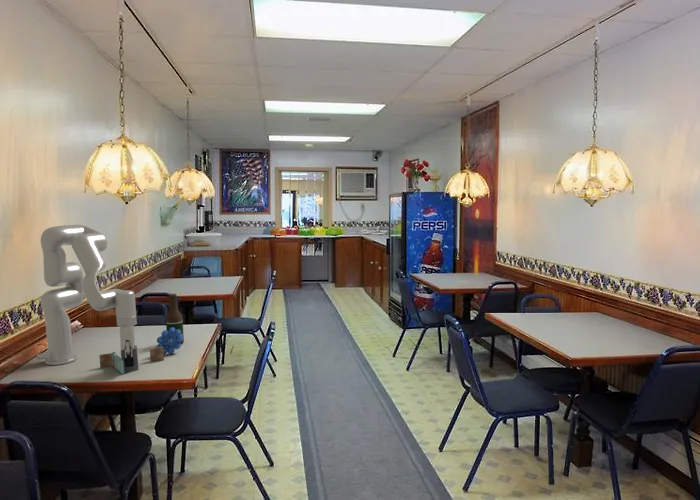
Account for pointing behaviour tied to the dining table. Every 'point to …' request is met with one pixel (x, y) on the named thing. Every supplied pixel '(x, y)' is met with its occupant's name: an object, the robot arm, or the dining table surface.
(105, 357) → the brown wooden block
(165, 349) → the grapes
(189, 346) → the dining table surface
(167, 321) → the beer bottle
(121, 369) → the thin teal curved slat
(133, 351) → the doorstop block
